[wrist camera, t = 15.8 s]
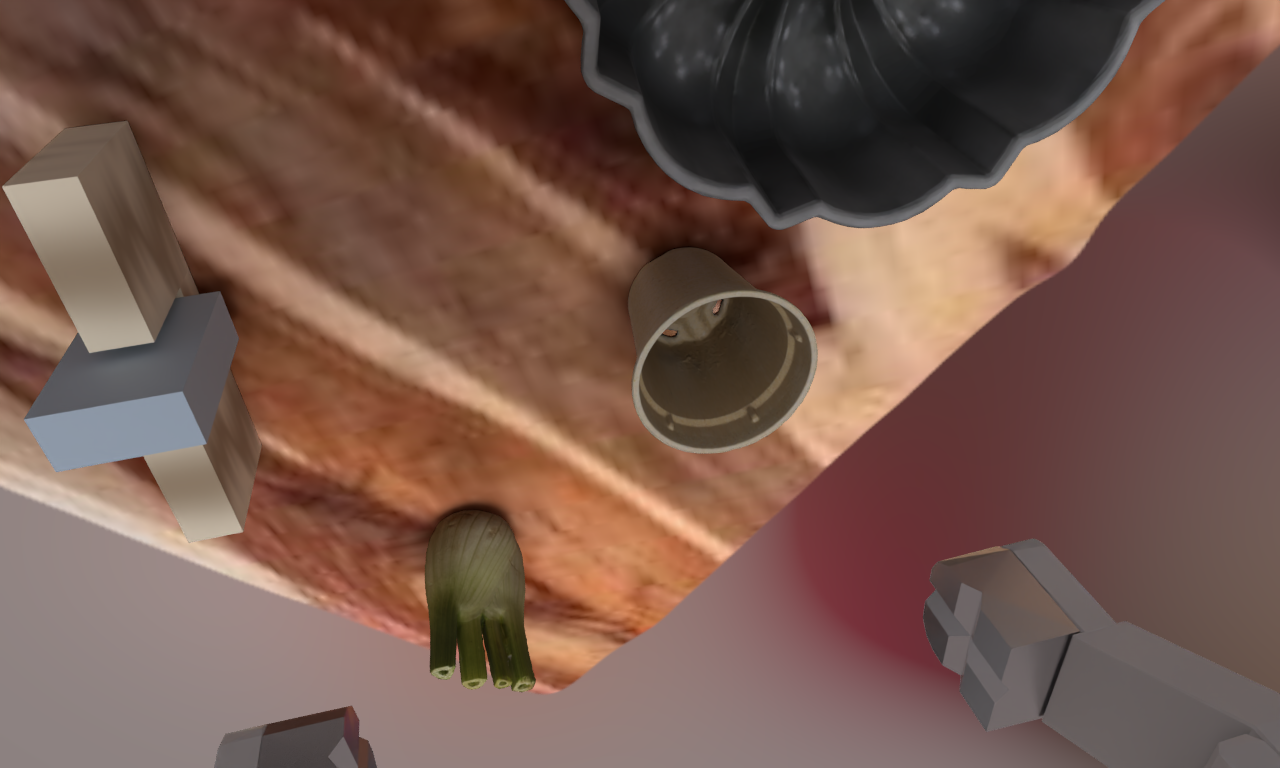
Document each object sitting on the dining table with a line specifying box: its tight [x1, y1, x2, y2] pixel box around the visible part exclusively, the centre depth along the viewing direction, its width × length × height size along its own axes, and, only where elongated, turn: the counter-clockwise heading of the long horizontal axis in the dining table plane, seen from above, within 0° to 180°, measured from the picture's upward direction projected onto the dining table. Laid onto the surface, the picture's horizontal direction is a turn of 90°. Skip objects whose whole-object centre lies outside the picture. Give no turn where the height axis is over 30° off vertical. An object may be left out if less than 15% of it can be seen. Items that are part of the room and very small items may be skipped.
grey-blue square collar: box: [24, 291, 239, 472], centre depth 36 cm, size 6×3×8 cm, turn 94°
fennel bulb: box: [425, 510, 536, 692], centre depth 48 cm, size 6×5×12 cm
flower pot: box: [628, 247, 818, 454], centre depth 44 cm, size 9×9×9 cm
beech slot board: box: [2, 121, 262, 543], centre depth 38 cm, size 18×2×7 cm, turn 4°
